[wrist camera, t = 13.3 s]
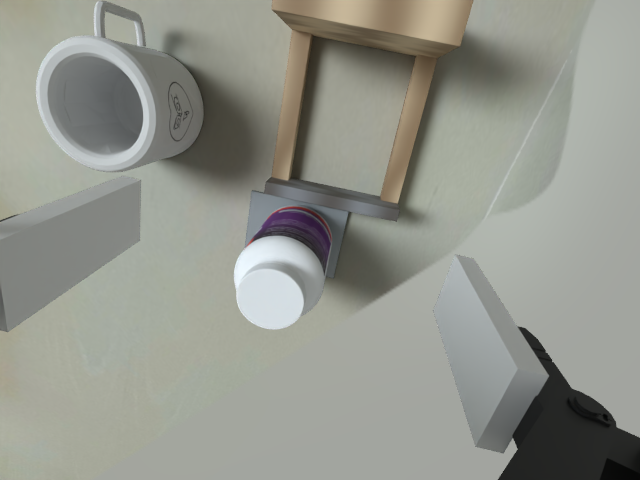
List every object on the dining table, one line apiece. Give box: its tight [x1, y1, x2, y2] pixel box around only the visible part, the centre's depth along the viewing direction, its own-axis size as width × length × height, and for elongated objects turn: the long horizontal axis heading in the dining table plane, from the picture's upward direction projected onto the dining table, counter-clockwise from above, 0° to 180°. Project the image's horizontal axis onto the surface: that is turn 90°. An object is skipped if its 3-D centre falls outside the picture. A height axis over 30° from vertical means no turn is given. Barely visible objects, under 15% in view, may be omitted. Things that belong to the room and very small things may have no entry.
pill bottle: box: [234, 205, 332, 329], centre depth 36 cm, size 8×8×14 cm
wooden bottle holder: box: [264, 0, 473, 222], centre depth 33 cm, size 14×18×10 cm
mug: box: [36, 1, 204, 172], centre depth 35 cm, size 14×11×10 cm
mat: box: [245, 191, 349, 278], centre depth 43 cm, size 11×8×1 cm
